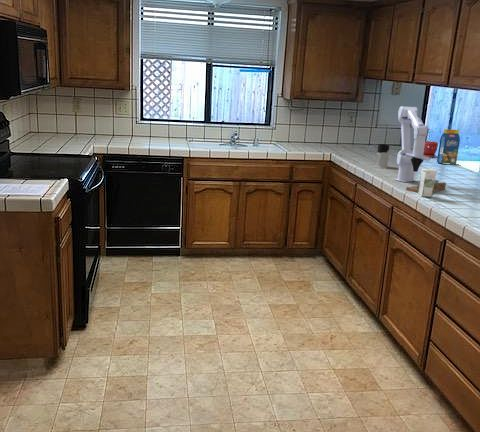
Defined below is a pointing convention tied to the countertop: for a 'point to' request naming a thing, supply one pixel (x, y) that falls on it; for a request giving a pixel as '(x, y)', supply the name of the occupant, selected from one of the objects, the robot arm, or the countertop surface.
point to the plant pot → (430, 149)
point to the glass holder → (381, 155)
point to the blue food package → (448, 147)
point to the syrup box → (427, 182)
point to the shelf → (436, 188)
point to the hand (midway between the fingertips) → (415, 171)
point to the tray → (434, 183)
